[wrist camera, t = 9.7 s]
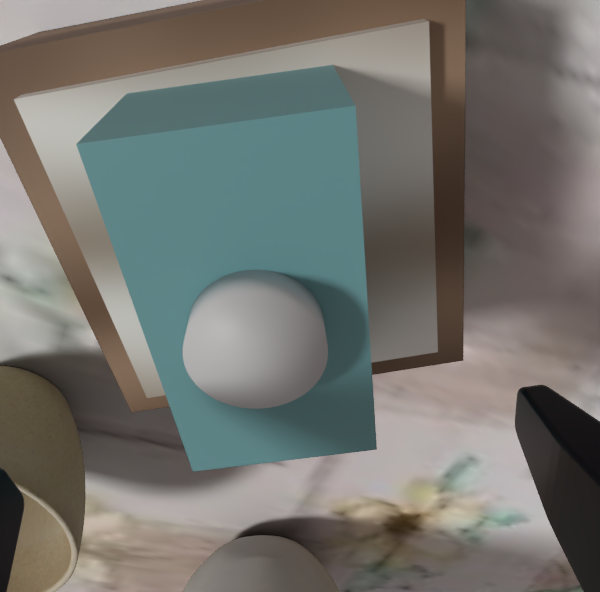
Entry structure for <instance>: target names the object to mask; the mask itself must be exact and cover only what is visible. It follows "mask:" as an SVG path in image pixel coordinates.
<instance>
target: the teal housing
mask: <svg viewBox="0 0 600 592" xmlns="http://www.w3.org/2000/svg"><path fill="white" fill-rule="evenodd" d="M76 145H77V148H78V151H79V154H80V156H81V159H82V162H83V165H84V168H85V170H86V173H87V176H88V179H89V182H90V184H91V187H92V190H93V193H94V196H95V198H96V201H97V204H98V207H99V210H100V212H101V215H102V218H103V221H104V224H105V226H106V229H107V232H108V235H109V238H110V241H111V243H112V246H113V249H114V252H115V255H116V257H117V260H118V263H119V266H120V269H121V271H122V274H123V277H124V280H125V283H126V285H127V288H128V291H129V294H130V297H131V299H132V302H133V305H134V308H135V311H136V313H137V316H138V319H139V322H140V325H141V327H142V330H143V333H144V336H145V339H146V342H147V344H148V347H149V350H150V353H151V356H152V358H153V361H154V364H155V367H156V370H157V372H158V375H159V378H160V381H161V384H162V386H163V389H164V392H165V395H166V398H167V400H168V403H169V406H170V409H171V412H172V414H173V417H174V420H175V423H176V426H177V428H178V431H179V434H180V437H181V440H182V443H183V445H184V448H185V451H186V454H187V457H188V459H189V462H190V465H191V468H192V471H193V472H194V471H202V470H210V469H219V468H227V467H235V466H243V465H252V464H260V463H268V462H277V461H285V460H293V459H301V458H310V457H318V456H326V455H334V454H343V453H351V452H359V451H367V450H376V449H377V448H376V431H375V415H374V398H373V382H372V366H371V349H370V333H369V316H368V300H367V284H366V267H365V251H364V234H363V218H362V202H361V185H360V169H359V152H358V136H357V120H356V105H355V104H354V102H353V100H352V98H351V97H350V95H349V93H348V91H347V89H346V88H345V86H344V84H343V82H342V81H341V79H340V77H339V75H338V73H337V72H336V70H335V68H334V66H333V65H328V66H320V67H313V68H306V69H299V70H292V71H284V72H277V73H270V74H263V75H256V76H249V77H241V78H234V79H227V80H220V81H213V82H205V83H198V84H191V85H184V86H177V87H169V88H162V89H155V90H148V91H141V92H134V93H127V94H126V95H125V96H124V97H123V98H122V99H121V100H120V101H119V102H118V103H117V104H116V105H115V106H114V107H113V108H112V109H111V110H110V111H109V112H108V113H107V114H106V115H105V116H104V117H103V118H102V119H101V120H100V121H99V122H98V123H97V124H96V125H95V126H94V127H93V128H92V129H91V130H90V131H89V132H88V133H87V134H86V135H85V136H84V137H83V138H82V139H81V140H80V141H79V142H78V143H77V144H76Z"/></svg>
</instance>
